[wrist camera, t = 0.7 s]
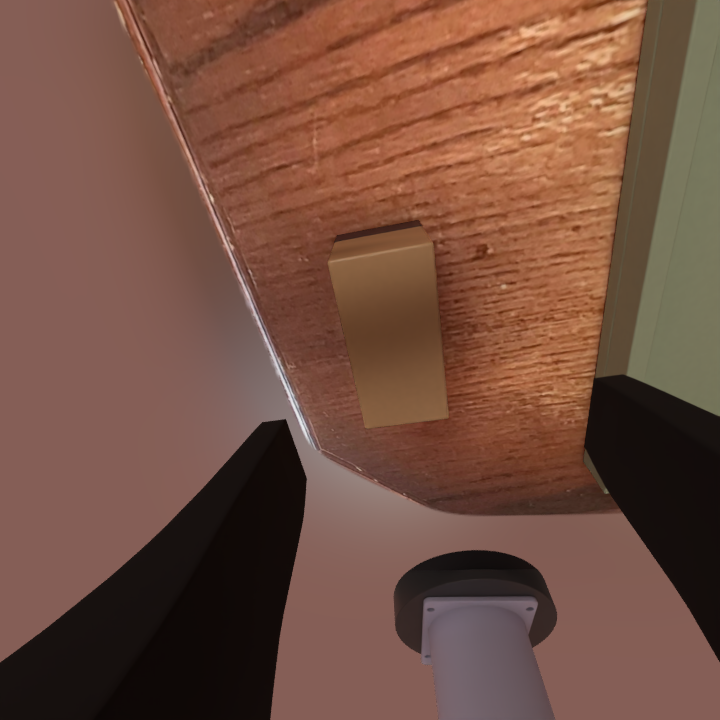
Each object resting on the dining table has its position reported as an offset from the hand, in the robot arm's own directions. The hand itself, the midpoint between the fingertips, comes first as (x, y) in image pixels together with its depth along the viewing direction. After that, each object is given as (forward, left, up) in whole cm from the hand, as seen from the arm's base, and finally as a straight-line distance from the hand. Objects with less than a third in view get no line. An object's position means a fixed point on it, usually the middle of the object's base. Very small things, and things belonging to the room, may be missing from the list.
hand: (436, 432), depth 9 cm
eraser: (0, +1, -9) cm, 9 cm away
